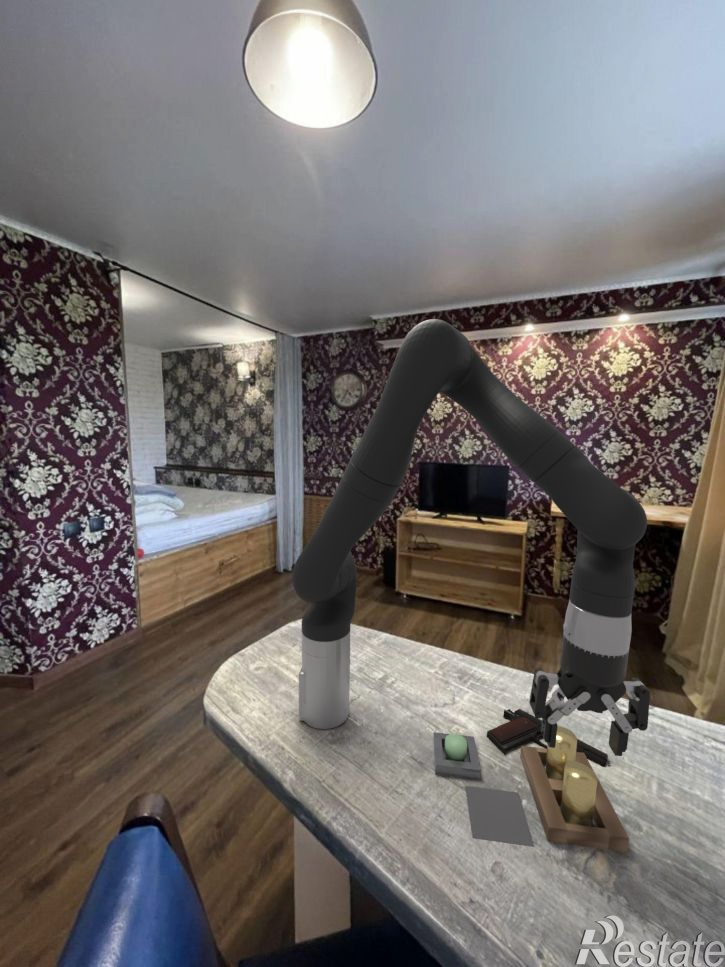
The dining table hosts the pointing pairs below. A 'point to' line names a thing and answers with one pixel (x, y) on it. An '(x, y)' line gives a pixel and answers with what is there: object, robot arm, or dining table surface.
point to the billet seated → (560, 753)
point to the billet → (578, 794)
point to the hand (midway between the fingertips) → (582, 747)
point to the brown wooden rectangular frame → (552, 820)
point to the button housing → (456, 768)
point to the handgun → (532, 736)
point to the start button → (455, 747)
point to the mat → (497, 816)
